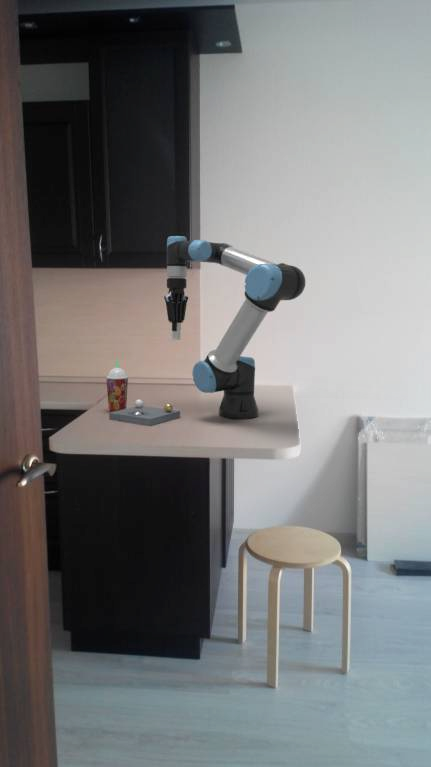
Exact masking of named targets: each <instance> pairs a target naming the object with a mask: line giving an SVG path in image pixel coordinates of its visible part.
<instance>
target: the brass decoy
mask: <svg viewBox="0 0 431 767" xmlns="http://www.w3.org/2000/svg"><path fill="white" fill-rule="evenodd" d="M173 407H174V406H173V405H172V404H171V403H165V405H164V407H163V409H165V411H166V412H171V411H172V410H174V408H173Z"/></svg>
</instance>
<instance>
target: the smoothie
mask: <svg viewBox="0 0 431 767" xmlns="http://www.w3.org/2000/svg"><path fill="white" fill-rule="evenodd" d="M115 365H116V366H115V367H113V368H112V369H110V370H109V372H108V373H107V376H105V378H106V391H107V404H108V409H109V413H110V412H114V411H119V410H123V409H127V403H128V402H127V401H128V383H129V376H128V374H127V373H126V371H125V370H124V369H123V368H121V367H119V360H115Z"/></svg>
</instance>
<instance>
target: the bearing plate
mask: <svg viewBox="0 0 431 767" xmlns="http://www.w3.org/2000/svg"><path fill="white" fill-rule="evenodd" d="M135 412H140V413H141V414H142V415H134V413H135ZM108 414H109V415H108V416H109V417H108V418H109V420H110V421H116V420H117V421H118V422H122V421H123V422H125V423H128V422H129V424H130V423H131V424H135V425H143V426H148V427H153V426H155V425H159V424H162V423H166V422H170V421H173V420H176V419H181V410H176V409H172V411H171V412H166V411H165V409H164V408H161V407H155V406H154V407H153V406H148V405H147V406H146V405H143V406H142V407H141V408H137V407H136V406H133V407H127V408H126V409H123V410H119V411H114V412H110V411H109V413H108ZM117 421H116V422H117Z"/></svg>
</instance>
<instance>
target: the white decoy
mask: <svg viewBox="0 0 431 767" xmlns="http://www.w3.org/2000/svg"><path fill="white" fill-rule="evenodd" d="M142 406H144V402H143V400H142V399H136V400H135V402H134V407H137V408H141V407H142Z"/></svg>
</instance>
